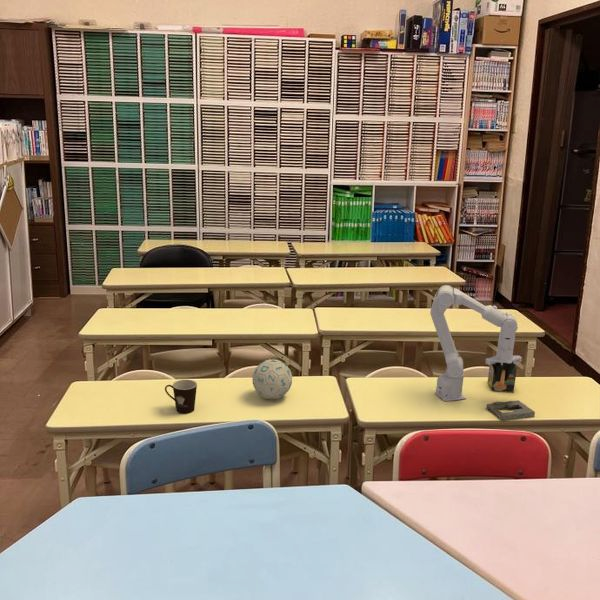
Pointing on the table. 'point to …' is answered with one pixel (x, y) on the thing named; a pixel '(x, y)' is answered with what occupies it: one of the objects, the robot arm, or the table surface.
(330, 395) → the table surface
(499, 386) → the peg
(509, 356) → the robot arm
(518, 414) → the keyhole plate
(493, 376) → the chalk box
